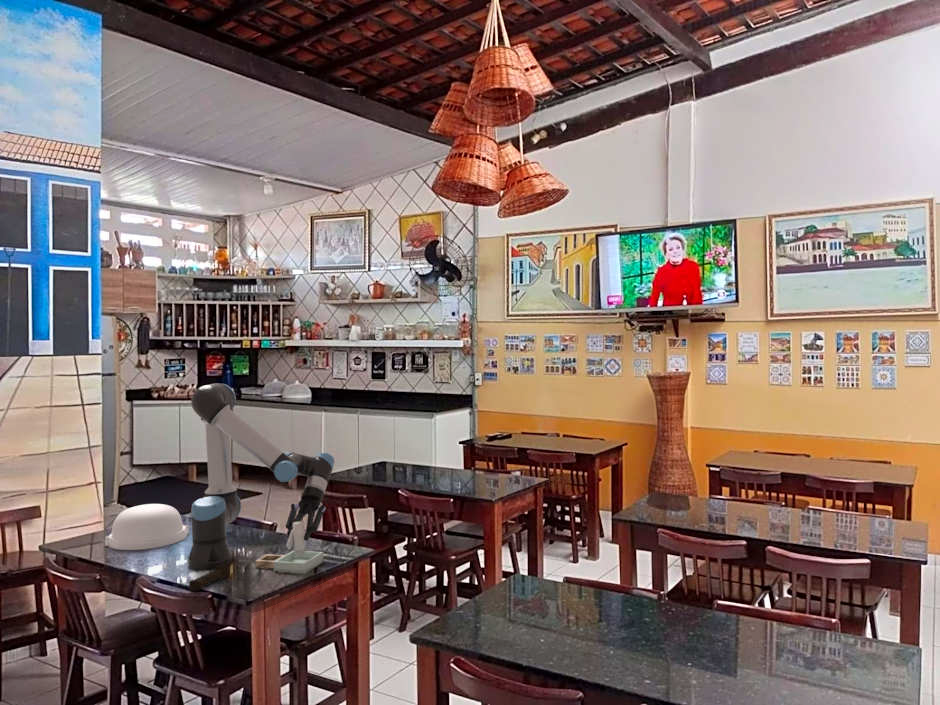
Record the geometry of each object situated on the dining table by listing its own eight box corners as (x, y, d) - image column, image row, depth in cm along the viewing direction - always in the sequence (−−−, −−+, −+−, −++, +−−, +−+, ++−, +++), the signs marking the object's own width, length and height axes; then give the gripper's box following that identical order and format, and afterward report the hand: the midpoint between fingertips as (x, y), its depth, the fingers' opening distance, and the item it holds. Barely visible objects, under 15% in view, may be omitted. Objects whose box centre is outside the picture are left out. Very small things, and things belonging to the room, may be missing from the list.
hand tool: (198, 593, 241) (198, 578, 240) (188, 591, 242) (188, 577, 242) (235, 575, 258) (235, 561, 258) (225, 573, 260) (225, 560, 260)
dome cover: (183, 526, 328) (182, 494, 328) (195, 542, 302) (194, 507, 302) (102, 538, 312) (101, 504, 312) (107, 555, 286) (106, 519, 286)
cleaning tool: (292, 557, 263) (290, 524, 263) (297, 554, 267) (295, 521, 267) (302, 558, 262) (300, 524, 262) (307, 554, 266) (306, 521, 266)
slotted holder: (255, 567, 265) (255, 560, 265) (267, 561, 273) (267, 554, 273) (275, 569, 263) (275, 561, 263) (286, 562, 271) (286, 555, 270)
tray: (273, 571, 260) (273, 561, 260) (293, 559, 273) (293, 550, 273) (305, 573, 257) (304, 563, 256) (323, 561, 270) (323, 552, 270)
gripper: (338, 497, 277) (320, 554, 261) (297, 496, 281) (276, 552, 266) (332, 485, 272) (312, 543, 256) (289, 484, 276) (268, 541, 261)
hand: (294, 547), depth 261 cm, fingers closed on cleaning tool, 4 cm apart
